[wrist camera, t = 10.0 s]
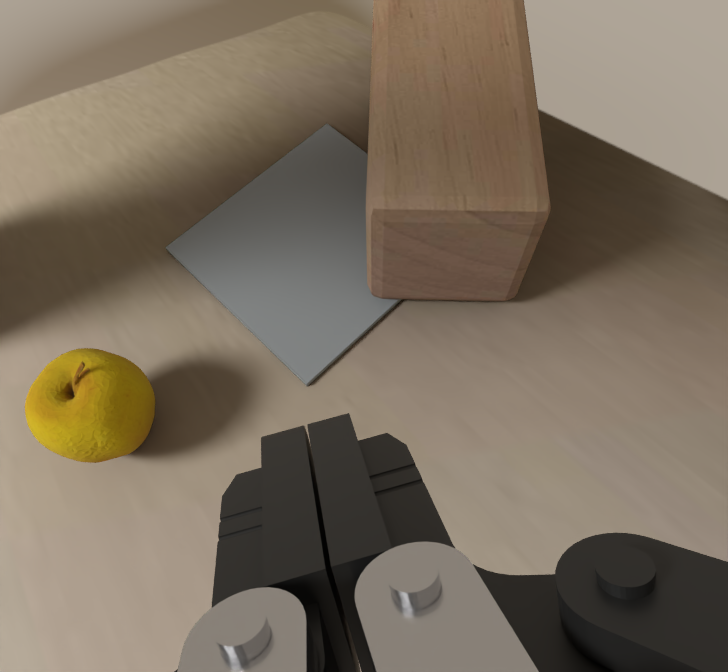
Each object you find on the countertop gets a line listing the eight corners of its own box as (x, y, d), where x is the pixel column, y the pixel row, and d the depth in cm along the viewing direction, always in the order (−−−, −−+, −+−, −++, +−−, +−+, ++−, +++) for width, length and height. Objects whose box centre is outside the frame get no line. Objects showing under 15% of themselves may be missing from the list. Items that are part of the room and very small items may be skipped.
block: (364, 209, 32) (374, -31, 41) (366, 304, 41) (374, 90, 50) (558, 213, 32) (524, -30, 40) (517, 307, 41) (497, 91, 49)
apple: (181, 381, 40) (135, 327, 33) (160, 479, 37) (104, 445, 30) (86, 375, 40) (20, 322, 33) (59, 472, 38) (-20, 437, 30)
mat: (167, 250, 44) (165, 247, 44) (327, 127, 49) (326, 123, 48) (307, 386, 39) (306, 384, 39) (471, 235, 44) (472, 232, 43)
